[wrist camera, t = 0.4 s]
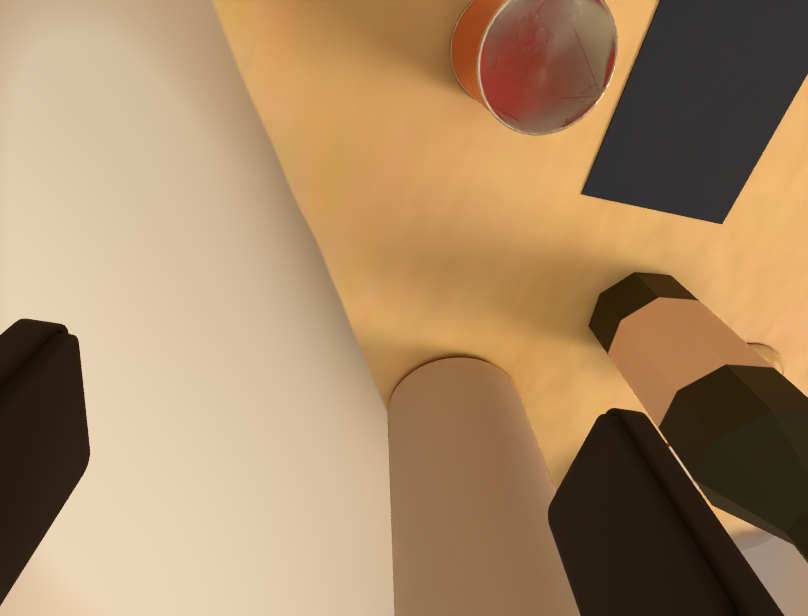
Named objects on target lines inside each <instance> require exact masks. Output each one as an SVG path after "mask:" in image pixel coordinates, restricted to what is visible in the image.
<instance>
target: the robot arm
mask: <svg viewBox="0 0 808 616" xmlns="http://www.w3.org/2000/svg"><path fill="white" fill-rule="evenodd" d="M89 457H90V446H89V437H88V427H87V417H86V408H85V399H84V388H83V379H82V370H81V360H80V350H79V342H78V338H77V337H76V336H75V335H71V334H69V333H68V330H67V328H66V326H65V325H62V324H58V323H52V322H44V321H38V320H32V319H20V320H18V321H17V322H15V323H14V324H13V325H12V326H11V327H9V328H8V329H7V330H6V331H5V332H3V333H2V334H1V335H0V605H1V604H2V602H3V601H4V599H5V597H6V596H7V594H8V592H9V591H10V590H11V588H12V586H13V585H14V583H15V582H16V580H17V579H18V577H19V575H20V574H21V572H22V570H23V569H24V567H25V566H26V564H27V563H28V561H29V559H30V558H31V556H32V555H33V553H34V552H35V550H36V548H37V547H38V545H39V544H40V542H41V540H42V539H43V537H44V536H45V534H46V533H47V531H48V529H49V528H50V526H51V525H52V523H53V522H54V520H55V518H56V517H57V515H58V514H59V512H60V510H61V509H62V507H63V506H64V504H65V503H66V501H67V499H68V498H69V496H70V495H71V493H72V491H73V490H74V488H75V487H76V485H77V484H78V482H79V480H80V478H81V477H82V476H83V474H84V472H85V470H86V468H87V465H88V461H89ZM548 523H549V526H550V529H551V532H552V535H553V538H554V541H555V544H556V546H557V549H558V552H559V555H560V558H561V561H562V564H563V567H564V569H565V572H566V575H567V578H568V581H569V584H570V587H571V590H572V593H573V595H574V598H575V601H576V604H577V607H578V610H579V613H580V616H784V615H783V613H782V612H781V610H780V609H779V608H778V606H777V604H776V603H775V601H774V600H773V599H772V597H771V596H770V594H769V593H768V591H767V590H766V589H765V587H764V586H763V584H762V583H761V581H760V580H759V578H758V577H757V575H756V574H755V572H754V571H753V569H752V568H751V567H750V565H749V564H748V562H747V561H746V559H745V558H744V556H743V555H742V553H741V552H740V551H739V549H738V548H737V546H736V545H735V543H734V542H733V540H732V539H731V537H730V536H729V535H728V533H727V532H726V530H725V529H724V527H723V526H722V524H721V523H720V521H719V520H718V519H717V517H716V516H715V514H714V513H713V511H712V510H711V508H710V507H709V505H708V504H707V503H706V501H705V500H704V498H703V497H702V495H701V494H700V492H699V491H698V489H697V488H696V487H695V485H694V484H693V482H692V481H691V479H690V478H689V476H688V475H687V473H686V472H685V471H684V469H683V468H682V466H681V465H680V463H679V462H678V460H677V459H676V457H675V456H674V455H673V453H672V452H671V450H670V449H669V447H668V446H667V444H666V443H665V441H664V440H663V439H662V437H661V436H660V434H659V433H658V431H657V430H656V428H655V427H654V425H653V424H652V423H651V421H650V420H649V418H648V417H647V416H646V415H645V414H644V413H642V412H637V411H631V410H624V409H618V408H612V409H610V410H608V411H607V412H606V414H602V415H600V416H599V417H598V418H597V420H596V421H595V423H594V425H593V427H592V429H591V430H590V432H589V434H588V436H587V438H586V440H585V441H584V443H583V445H582V447H581V449H580V450H579V452H578V454H577V456H576V458H575V459H574V461H573V463H572V465H571V467H570V468H569V470H568V472H567V474H566V476H565V478H564V479H563V481H562V483H561V485H560V487H559V488H558V490H557V492H556V494H555V496H554V497H553V499H552V501H551V503H550V505H549V508H548Z"/></svg>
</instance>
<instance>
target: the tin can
mask: <svg viewBox="0 0 808 616" xmlns="http://www.w3.org/2000/svg"><path fill="white" fill-rule="evenodd" d="M617 52H618V37H617V30H616V26H615V22H614V18H613V16H612V14H611V12H610V9H609V8H608V6H607V5H606V3H605V1H604V0H473V1H471V2H470V3H469V4H468V6H467V7H466V8H465V9H464V10H463V12H462V13H461V15H460V16H459V18H458V20H457V22H456V24H455V27H454V29H453V33H452V36H451V42H450V60H451V66H452V69H453V73H454V75H455V77H456V79H457V81H458V82H459V84H460V86H461V87H462V88H463V89H464V90H465V91H466V92H467V93H468V94H469V95H470V96H472V97H473V98H475V99H476V100H477V101H478V102H479V103H481V104H482V105H483V106H484V107H485V108H486V109H487V110H489V111H490V112H491V113H492V115H493V116H494V117H495V118H496V119H497V120H498V121H499V122H501V123H502V124H503V125H505V126H506V127H508V128H510V129H512V130H514V131H516V132H519V133H523V134H528V135H546V134H551V133H555V132H558V131H561V130H564V129H566V128H568V127H570V126H572V125H573V124H575V123H576V122H578V121H579V120H581V119H582V118H583V117H584V116H585V115H587V114H588V113H589V112H590V111H591V110H592V109H593V108H594V106H595V105H596V104H597V103H598V101H599V100H600V99H601V97H602V96H603V94H604V92H605V91H606V89H607V87H608V85H609V83H610V81H611V78H612V75H613V72H614V69H615V65H616V60H617Z"/></svg>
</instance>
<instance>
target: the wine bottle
mask: <svg viewBox="0 0 808 616" xmlns="http://www.w3.org/2000/svg"><path fill="white" fill-rule="evenodd" d="M589 327H590V329H591V330H592V332H593V333H594V335H595V336H596V337H597V339H598V340H599V342H600V343H601V345H602V346H603V348H604V349H605V351H606V352H607V354H608V355H609V357H610V358H611V359H612V361H613V362H614V364H615V365H616V367H617V368H618V370H619V371H620V373H621V374H622V376H623V377H624V379H625V380H626V381H627V383H628V384H629V386H630V387H631V389H632V390H633V392H634V393H635V395H636V396H637V398H638V399H639V401H640V402H641V403H642V405H643V406H644V408H645V409H646V411H647V412H648V414H649V415H650V417H651V418H652V420H653V421H654V423H655V424H656V425H657V427H658V428H659V430H660V431H661V433H662V434H663V436H664V437H665V439H666V440H667V442H668V443H669V445H670V446H671V447H672V449H673V450H674V452H675V453H676V455H677V456H678V458H679V459H680V461H681V462H682V464H683V465H684V467H685V468H686V469H687V471H688V472H689V474H690V475H691V477H692V478H693V480H694V481H695V482H696V484H697V485H698V486H699V488H700V489H701V491H702V492H703V493H704V495H705V496H706V497H707V499H708V500H709V502H710V503H711V504H712V505H713V506H715V507H717V508H719V509H721V510H723V511H725V512H727V513H729V514H731V515H733V516H736V517H738V518H740V519H742V520H744V521H746V522H748V523H750V524H752V525H754V526H756V527H758V528H760V529H762V530H764V531H767V532H769V533H771V534H773V535H775V536H777V537H779V538H781V539H783V540H785V541H787V542H790V543H791V544H793V545H794V546H795V547H796V549H797V550H798V551H799V552H800V554H801V555H802V556H803V557H804V559H805V560H806V561H807V562H808V398H807V397H806V396H805V395H804V394H803V393H802V392H801V391H800V390H799V389H797V388H796V387H795V386H794V385H793V384H792V383H791V382H790V381H788V380H787V379H786V378H785V377H784V376H783V375H782V374H781V373H779V372H778V371H777V370H776V369H775V368H774V367H773V366H772V365H770V364H769V363H768V362H767V361H766V360H765V359H764V358H763V357H762V356H760V355H759V354H758V353H757V352H756V351H755V350H754V349H753V348H751V347H750V346H749V345H748V344H747V343H746V342H745V341H744V340H742V339H741V338H740V337H739V336H738V335H737V334H736V333H735V332H733V331H732V330H731V329H730V328H729V327H728V326H727V325H726V324H725V323H723V322H722V321H721V320H720V319H719V318H718V317H717V316H716V315H714V314H713V313H712V312H711V311H710V310H709V309H708V308H707V307H705V306H704V305H703V304H702V303H701V302H700V301H699V300H698V299H696V298H695V297H694V296H693V295H692V294H691V293H690V292H689V291H687V290H686V289H685V288H684V287H683V286H682V285H681V284H680V283H679V282H677V281H676V280H675V279H674V278H673V277H672V276H670V275H659V274H647V273H635V272H634V273H633V274H631V275H630V276H628V277H626V278H625V279H623V280H622V281H620V282H619V283H617V284H615V285H614V286H612V287H611V288H609V289H607V290H606V291H604V292H603V293H601V294H600V296H599V298H598V301H597V304H596V307H595V310H594V312H593V315H592V318H591V321H590V323H589Z"/></svg>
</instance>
